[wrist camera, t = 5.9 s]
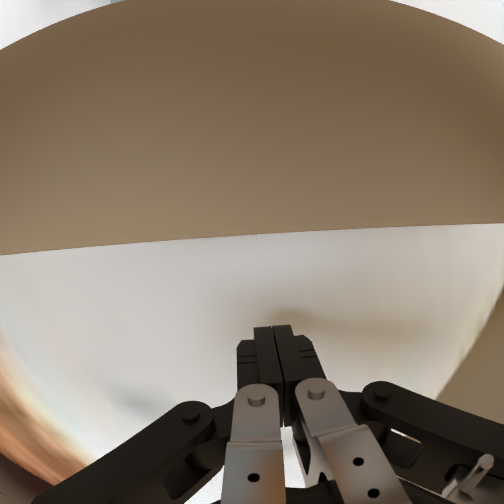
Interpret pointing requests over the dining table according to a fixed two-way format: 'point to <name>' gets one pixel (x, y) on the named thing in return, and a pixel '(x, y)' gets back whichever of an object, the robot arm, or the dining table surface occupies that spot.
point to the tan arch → (246, 122)
